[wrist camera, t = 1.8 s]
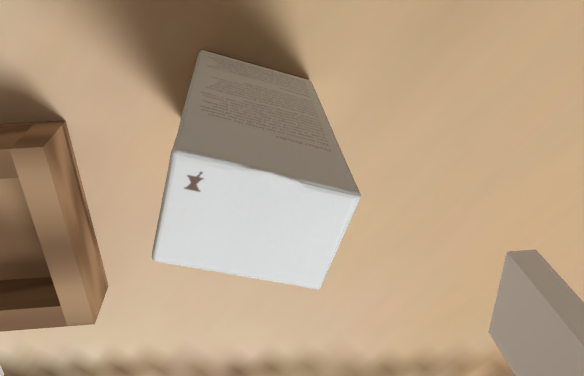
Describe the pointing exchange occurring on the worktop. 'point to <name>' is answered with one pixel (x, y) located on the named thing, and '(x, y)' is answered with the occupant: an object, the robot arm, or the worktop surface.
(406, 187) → the worktop surface
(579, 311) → the robot arm
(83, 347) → the worktop surface
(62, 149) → the rectangular wooden frame
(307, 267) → the skincare box
